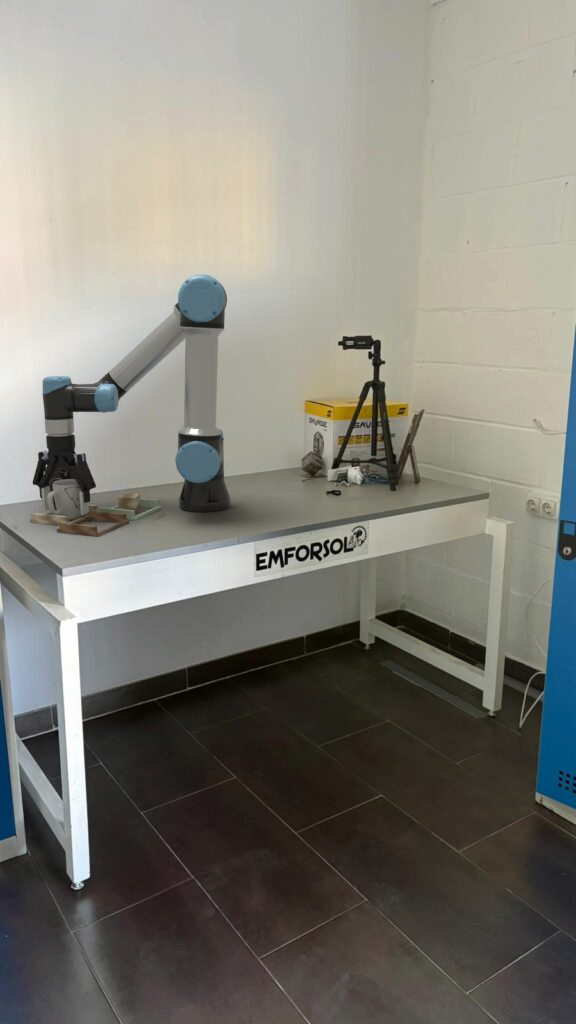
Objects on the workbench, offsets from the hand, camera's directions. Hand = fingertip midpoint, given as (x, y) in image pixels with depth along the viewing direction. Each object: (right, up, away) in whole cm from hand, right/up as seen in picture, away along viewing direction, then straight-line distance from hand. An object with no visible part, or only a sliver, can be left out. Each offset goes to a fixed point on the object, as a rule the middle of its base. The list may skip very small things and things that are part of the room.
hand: (65, 512), depth 214 cm
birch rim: (0, -2, 0) cm, 2 cm away
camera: (-3, +1, +15) cm, 15 cm away
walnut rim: (+10, -4, -9) cm, 14 cm away
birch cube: (+16, 0, +7) cm, 18 cm away
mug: (0, -2, +1) cm, 2 cm away
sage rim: (+16, 0, +7) cm, 18 cm away
